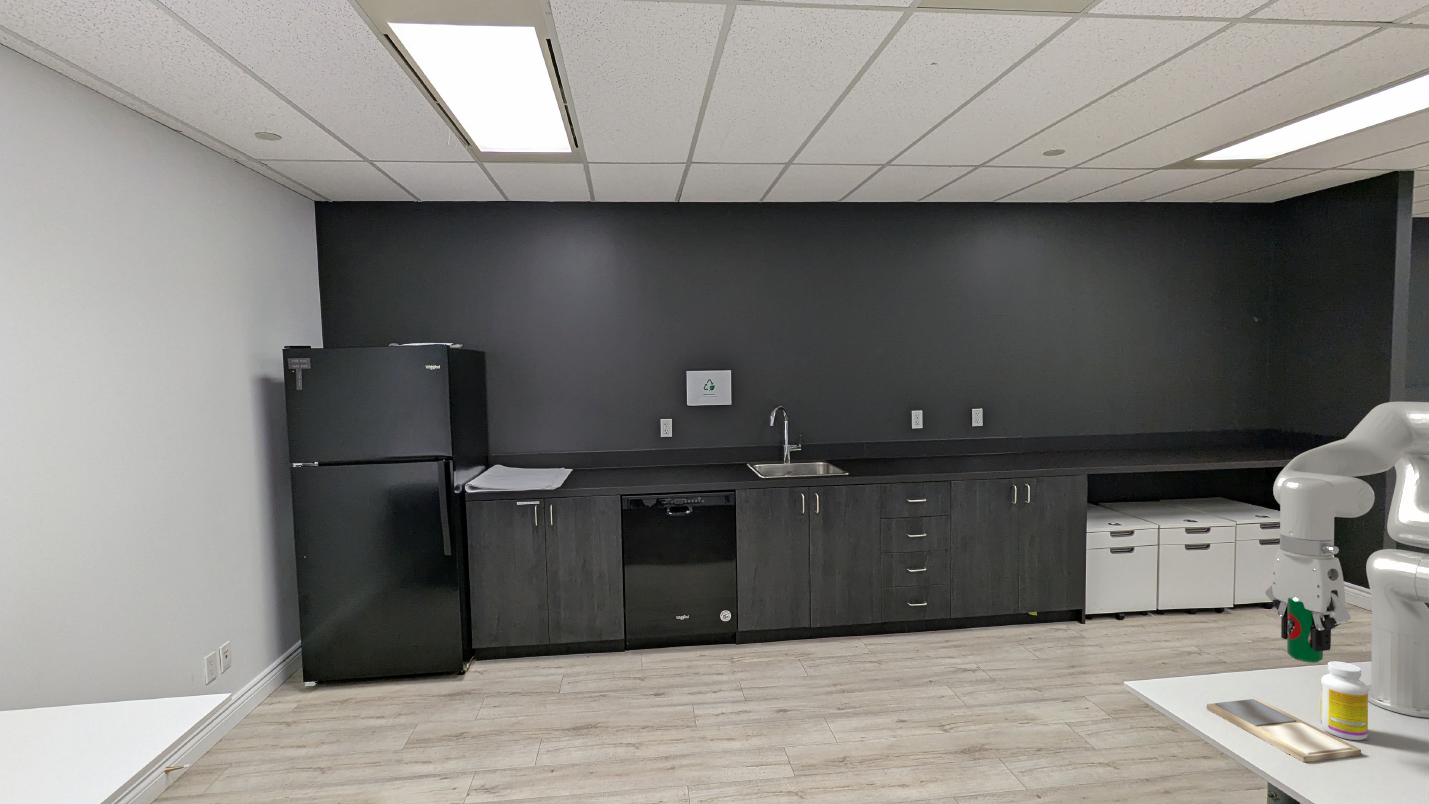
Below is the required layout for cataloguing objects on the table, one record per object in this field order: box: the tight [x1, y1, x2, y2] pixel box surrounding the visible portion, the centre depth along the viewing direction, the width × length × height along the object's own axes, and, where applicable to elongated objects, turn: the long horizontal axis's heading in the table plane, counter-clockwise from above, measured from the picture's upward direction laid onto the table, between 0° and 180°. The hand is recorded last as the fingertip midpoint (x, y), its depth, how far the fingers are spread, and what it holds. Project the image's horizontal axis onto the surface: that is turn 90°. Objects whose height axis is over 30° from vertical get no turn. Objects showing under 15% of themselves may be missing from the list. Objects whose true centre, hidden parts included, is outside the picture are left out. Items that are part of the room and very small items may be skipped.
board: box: [1206, 698, 1362, 763], centre depth 133 cm, size 12×20×1 cm, turn 9°
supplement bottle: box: [1320, 660, 1369, 741], centre depth 132 cm, size 7×7×13 cm
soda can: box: [1286, 597, 1324, 664], centre depth 127 cm, size 5×5×12 cm
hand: (1305, 643), depth 127 cm, fingers closed on soda can, 5 cm apart
